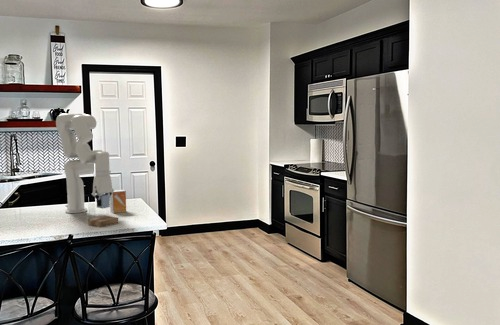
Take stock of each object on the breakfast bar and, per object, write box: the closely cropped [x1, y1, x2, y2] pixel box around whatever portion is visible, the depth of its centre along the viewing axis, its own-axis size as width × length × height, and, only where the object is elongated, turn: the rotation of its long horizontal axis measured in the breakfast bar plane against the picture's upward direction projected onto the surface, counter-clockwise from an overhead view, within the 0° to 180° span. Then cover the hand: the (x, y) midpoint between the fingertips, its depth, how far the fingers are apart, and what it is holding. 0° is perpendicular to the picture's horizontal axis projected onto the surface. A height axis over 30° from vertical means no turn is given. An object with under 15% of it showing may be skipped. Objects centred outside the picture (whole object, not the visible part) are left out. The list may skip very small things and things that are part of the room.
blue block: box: [96, 194, 110, 209], centre depth 262 cm, size 5×5×7 cm
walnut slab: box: [87, 215, 119, 228], centre depth 248 cm, size 11×11×3 cm
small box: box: [109, 189, 127, 214], centre depth 280 cm, size 8×6×13 cm
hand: (103, 204), depth 262 cm, fingers closed on blue block, 5 cm apart
